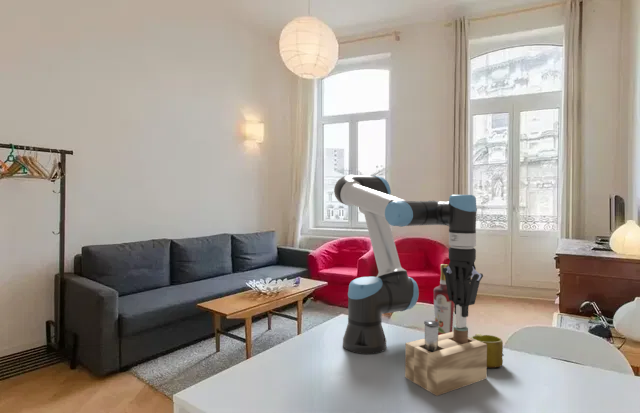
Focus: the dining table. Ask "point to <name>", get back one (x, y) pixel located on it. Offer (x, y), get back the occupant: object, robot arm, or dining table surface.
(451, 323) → the liquor
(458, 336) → the walnut peg
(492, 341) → the mug
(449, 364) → the oak block
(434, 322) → the metal pin
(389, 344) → the dining table surface
